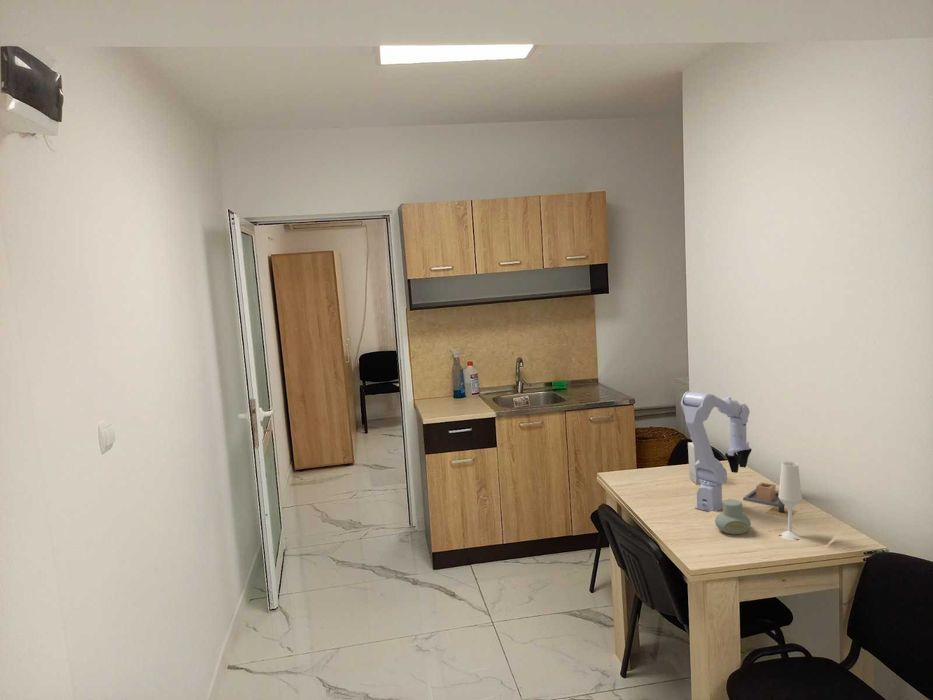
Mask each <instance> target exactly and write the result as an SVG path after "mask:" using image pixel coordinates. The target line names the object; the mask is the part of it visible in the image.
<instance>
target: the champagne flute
mask: <svg viewBox="0 0 933 700" xmlns="http://www.w3.org/2000/svg"><path fill="white" fill-rule="evenodd" d="M780 466H781V467H780V474H779V475H780V478H779V486H778V487H779V488H778V493H779V495H778V497H779V499H780V501H781V502H782V503H783V504H784V507H787V509H788V518H787V530H785V531H784V532H782V533H781V535H780V534H778V537H779V536H780V537H781V538H780V537H779V538H780V539H782V538H783V540H785V539H786V540H785V541H790V540H791V542H793V541H794V542H795V541H796V540H797V541H800V540H801V539H799V538H798V537H800V535H799V534H798V533H797V532H795V531H793V515H792V510H793V508H795V507H797V505H799V504H800V503H801V502H802V498H803V497H802V489H801V487H802V486H801V478H800V470H799V469H800V468H799V463H797V462H795V461H783V462H781V465H780Z"/></svg>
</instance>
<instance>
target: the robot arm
mask: <svg viewBox="0 0 933 700" xmlns="http://www.w3.org/2000/svg"><path fill="white" fill-rule="evenodd" d="M680 406H681V408H682V412H683V414H684V419H685V424H686V427H687V430H688V433H689V435H690V436H689V437H690V438H691V441H692V442H693V445H694V448H695V451H696V454H697V456H698V460H697V461H696V463H695V465H694V466H695V474H696V477H697V478H698V479H699V482H701V484H700V486H699V488H698V489H697V490H696V505H695V506H694V509H697V510H701V511H706V512H715V513H716V512H718V511H719V510H721V509H723V485H724V484H725V482H726V481H727V478H728V471H727V469H726V468H725V467H724V465H723V463H722V462H721V461H720V460H718V459H717V458H716V457H715V455H714V452H713V450H712V449H713V448H712V446H711V444H710V440H709V437H708V433H707V431H706V428H705V425H704V422H705V421H708V419H709V417H710V415H711V413H712V411H713V409H714V408H717V411H718V412H719V413H721V414H723V415H726V416H727V418H729V447H728V450H727V452H725V454H724V457H725V458H726V459H727V462H728V465H729V469H730V472H731V473H735V474H738V473H739V472H738V471H739V468H747V464H748V462H749V461H748V459H749V457H750V454H751V453H752V448H750V447H751V446H750V442H749V441H747V424H748V422H749V415H750V411H751V410H750V408H749V406H748V405H747V404H746V403H739V401H738V400H732V397H729V396H726V397H722V398H720V397H718V396H716V395H715V394H711V393H701V392H694V391H686V392H684V393H683V395H682V398H681V401H680Z"/></svg>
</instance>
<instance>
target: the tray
mask: <svg viewBox="0 0 933 700" xmlns="http://www.w3.org/2000/svg"><path fill="white" fill-rule="evenodd" d="M778 495H779V492H776V498H775V499H774V500H772V501H771V502H768V501H763V500H758V499H756V488H755V489H754V490H752V491H750V492H749V493H748V494H746V495H745V496H744V497H742V500H743V501H745V502H752V503H756V504H761V505H766V506H770V507H774V506H776V507H779V501H780V499H779V497H778Z"/></svg>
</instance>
